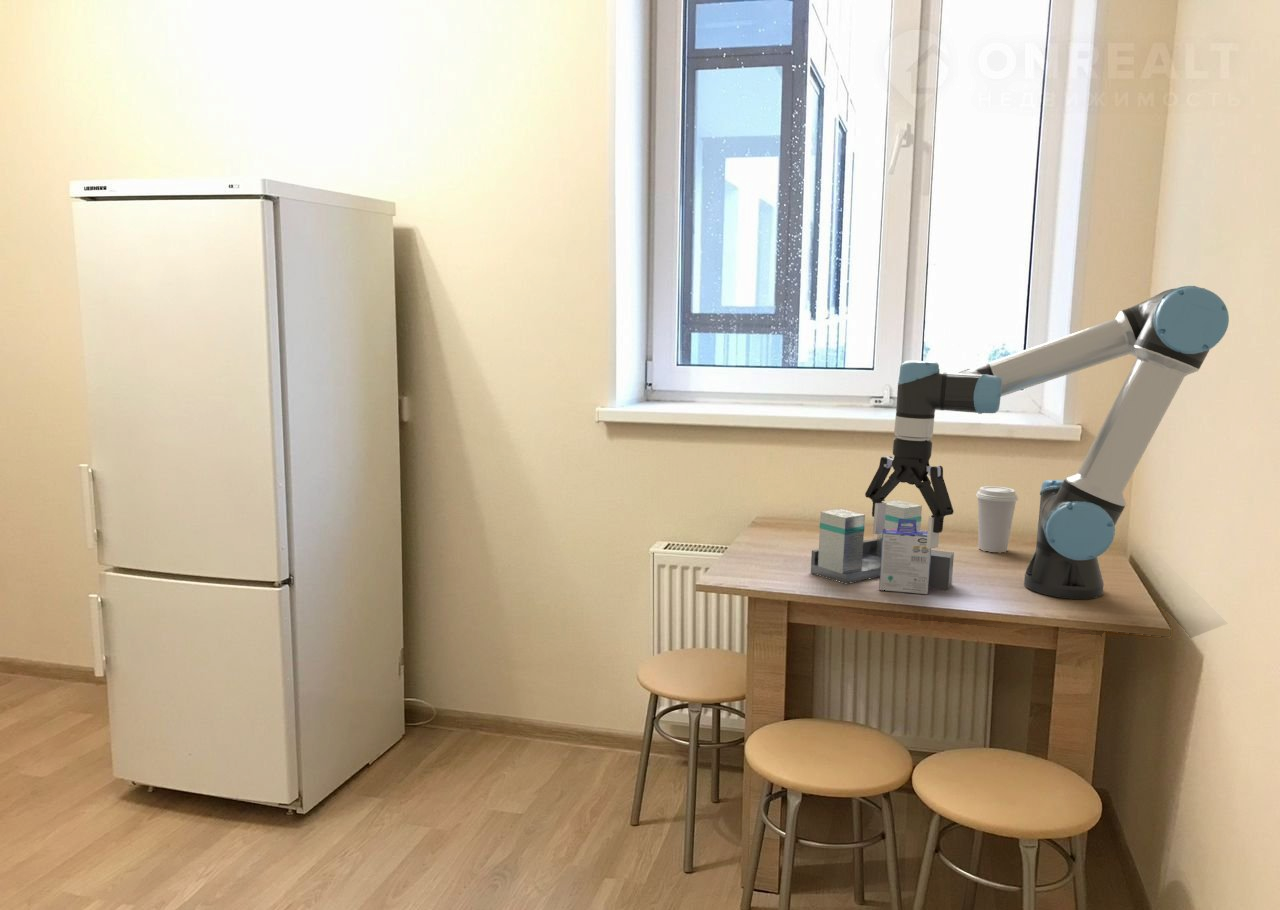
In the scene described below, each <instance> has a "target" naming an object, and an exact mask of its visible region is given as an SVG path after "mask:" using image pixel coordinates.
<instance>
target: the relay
mask: <svg viewBox="0 0 1280 910" xmlns="http://www.w3.org/2000/svg"><path fill="white" fill-rule="evenodd" d="M954 556H955V553H954V552H952V551H946V550H945V551H943V550H937V549H931V561H930V575H929V585H928V589H934V590H942V591H949V590H950V588H951V586H952V584H953V571H954V569H953V568H954V560H955V559H954Z"/></svg>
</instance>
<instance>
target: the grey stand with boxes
mask: <svg viewBox="0 0 1280 910" xmlns="http://www.w3.org/2000/svg"><path fill="white" fill-rule="evenodd" d="M885 502H886V515H885V528H884V529H896V530H897V528H898V520H899V519H908V520H916V529H917V531H921V524H922V518H923V517H922V510H923V505H920V504H917V503H912V502H908V501H903V500H898V499H894V500H890V501H887V500H886V501H885ZM865 519H866V515H865V514H863V513H859V512H855V511H850V510H846V509H842V508H837V509H831V510H830V509H829V510H823V511H820V517H819V536H818V537H819V539H818V549H813V550H811V556H810V557H811V560H810V561H811V562H810V574H812V573H814V574H813V575H816V574H818V575H817V576H819V575H821V576H820V577H822V576H824V577H823V578H825V577H827V578H826V579H828V578H830V579H829V580H831V579H834V580H837V581H840V582H839V583H841V582H843V583H842V584H844V583H848V584H851V583H850V582H853V583H856V582H855V581H857V582H860V581H859V580H862V581H865V580H864V579H866V580H869V578H871V579H875V578H880V577H879V576H880V565H881V546H882V533H880V534H876V535H877V538H872V539H868V540H864V537H865V536H864V535H865ZM901 526H909V527H913V524H911V523H901ZM874 577H875V578H874ZM834 580H833V581H834ZM837 581H836V582H837Z"/></svg>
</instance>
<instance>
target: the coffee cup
mask: <svg viewBox="0 0 1280 910" xmlns="http://www.w3.org/2000/svg"><path fill="white" fill-rule="evenodd" d="M975 497H976V498H977V517H978V518H977V521H978V523H977V524H978V526H977V528H978V533H977V535H978V539H977V540H978V550H979V549H981V550H984V551H983V552H985V551H989V552H988V553H990V552H1005V553H1007V552H1006V551H1008V547H1009V541H1010V537H1011V530H1012V524H1013V518H1014V512H1015V508H1016V502H1017V501H1019V497H1018V494H1016V490H1015V489H1014V488H1010V487H1004V486H995V485H994V486H991V485H990V486H989V485H988V486H981V487H979V490H978V491H977V492H976V495H975ZM981 550H980V551H981Z"/></svg>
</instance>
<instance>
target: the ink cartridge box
mask: <svg viewBox="0 0 1280 910" xmlns="http://www.w3.org/2000/svg"><path fill="white" fill-rule="evenodd" d="M901 523H911V524H913V527H909V526H901ZM927 535H928V530H927V531H926V530H920V531H917V529H916V520H908V519H899V520H898V528H897V530H896V529H883V533H882V546H881V565H880V577H879V585H878V590H879V591H884V590H885V591H886V592H898V593H899V592H900V593H909V594H911V593H912V594H922V595H928V594H929V588H928V585H929V575H930V561H931V550H932V549H928V548H926V546H927Z"/></svg>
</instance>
